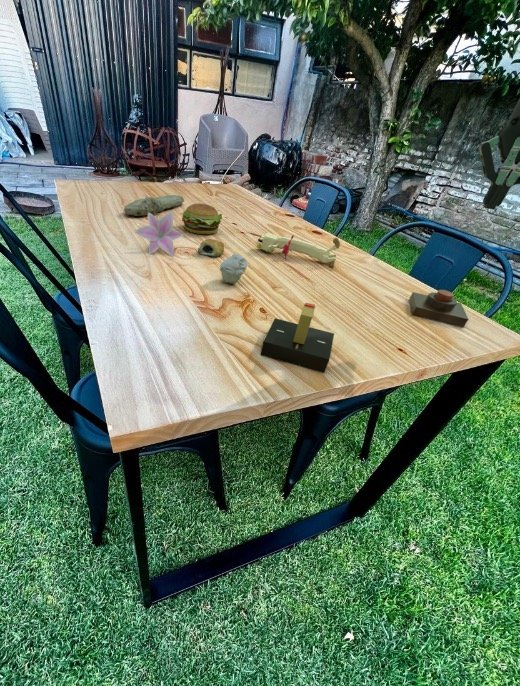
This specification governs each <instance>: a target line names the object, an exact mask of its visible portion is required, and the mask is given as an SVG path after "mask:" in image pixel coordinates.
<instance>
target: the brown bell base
mask: <svg viewBox="0 0 520 686" xmlns="http://www.w3.org/2000/svg"><path fill="white" fill-rule="evenodd" d="M436 294H437V292H434V291H431V292H430V293H428V294H423V293H419V292H415V291H412V293H411V294H410V296H409V299H408V302H409V308H410V313H411V316H414V317H419V318H423V319H427V320H430V321H435V322H439V323H443V324H447V325H451V326H455V327H460V328H464V327H465V326H466V325H467V323H468V321H469V320H470V318H469V317H468V315H467V313H466V311H465V308H464V307H463V305H462V303H461V302H459V301H457V299H456V298H455V297H453V298H452V299H451V301H450V302H445V301H441V300H439V299H437V298H435V295H436ZM457 302H458V303H457Z"/></svg>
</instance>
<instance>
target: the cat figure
mask: <svg viewBox="0 0 520 686" xmlns="http://www.w3.org/2000/svg"><path fill="white" fill-rule="evenodd" d="M294 237H295V234H292V235H291V237H287V236H279V235H277V234H274V233H271V232H266V233H265V235H261V236H259V238H258V239H257V241H256V242H255V245H256V247H257V248H258V249H261V250H263V251H265V252H267V253H272V252H274V251H275V249H279V250H282V251H281V253H282V254H283V255H284V258H285V259H287V255H288V254H289V252H296V253H299V254H303V255H306V256H308V257H309V258H313V259H316V260H317V261H319V262H321V263H324V264H326V263H329V267H330V268H334V265H335V263H336V260H337V255H338V254H337V253H332V252H333V251H337V250H338V249H340V246H341V242H340V239H339V237H335V236H334V237H333V240H332V244H334V245H333V246H331V247H329V248H327V249H326V248H323V247H320V246H317V244H314V243H310V242H307V241H303V240H300V239H297V238H294Z"/></svg>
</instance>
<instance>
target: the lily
mask: <svg viewBox="0 0 520 686" xmlns="http://www.w3.org/2000/svg"><path fill="white" fill-rule="evenodd" d="M174 216H175V215H174V211H173V210H170V211H168V212H167V213H165V214H163V216H161V217H160V218H159V219H158V218H157V217H156V216H155V214H154V215H152V214H151V213H148V215H147V220H148V224H147V225H143V226H142V227H139V228H137V229H135V230H134V233H135V234H136V235H137V236H139V237H141V238H143V239H145V240H147V241H149V244H148V254H149V255H152V254H153V253H154V252H156V251H157V250H158V249H159V248H160V249H161V250H162V251H164V252H165V253H166V254H168V255H169V257H175V247H174V246H175V245H174V242H173V241H175V240H178V239H180V238H182V237H183V236H184V234H183V233H182V232H180V231H178V230H176V229H175V228H173V225H174Z"/></svg>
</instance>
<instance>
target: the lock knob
mask: <svg viewBox="0 0 520 686" xmlns="http://www.w3.org/2000/svg"><path fill="white" fill-rule="evenodd" d="M315 310H316V304H313V303H309V302H304V304H303V307H302V309H301V313H300V316H299V319H298V323H297V324H298V326H297V330H296V333H295V337H294V340H293V342H296V343H300V344H304V342H305V339H306V336H307V333H308V329H309V327H311V323H312V320H313V316H314V313H315Z"/></svg>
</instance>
